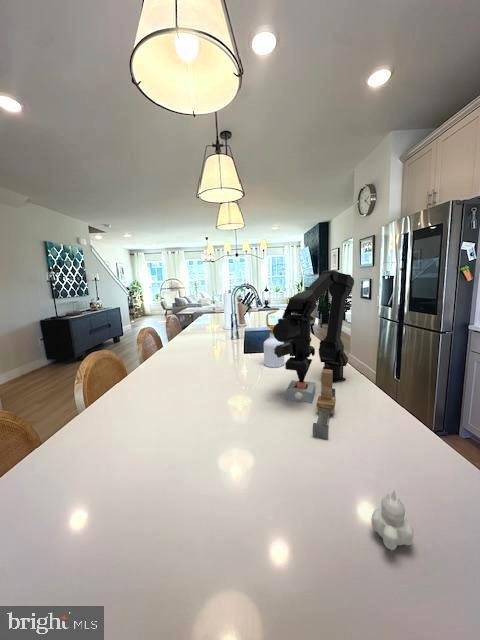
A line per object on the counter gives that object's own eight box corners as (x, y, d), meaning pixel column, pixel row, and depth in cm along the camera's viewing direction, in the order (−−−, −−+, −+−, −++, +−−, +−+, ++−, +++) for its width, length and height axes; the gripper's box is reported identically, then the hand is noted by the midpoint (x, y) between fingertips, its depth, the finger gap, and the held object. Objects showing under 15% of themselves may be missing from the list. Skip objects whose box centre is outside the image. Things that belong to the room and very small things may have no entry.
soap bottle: (283, 368, 115) (283, 311, 111) (262, 367, 117) (261, 312, 113) (284, 361, 124) (283, 309, 120) (265, 361, 126) (263, 309, 122)
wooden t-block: (318, 402, 81) (319, 368, 79) (335, 405, 79) (336, 370, 77) (316, 411, 76) (316, 375, 74) (334, 413, 74) (334, 377, 72)
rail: (323, 396, 87) (323, 387, 87) (335, 398, 86) (335, 388, 85) (312, 436, 66) (312, 425, 66) (327, 439, 65) (328, 427, 64)
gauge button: (297, 390, 90) (297, 379, 89) (306, 391, 89) (306, 380, 88) (296, 393, 88) (296, 383, 87) (304, 394, 86) (304, 384, 86)
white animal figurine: (412, 531, 41) (416, 485, 40) (411, 570, 36) (415, 519, 35) (374, 515, 44) (376, 472, 43) (367, 549, 39) (369, 501, 38)
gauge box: (292, 389, 94) (291, 380, 93) (315, 392, 90) (315, 382, 90) (286, 399, 86) (286, 389, 86) (311, 403, 83) (311, 392, 82)
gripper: (283, 329, 97) (284, 370, 99) (268, 341, 80) (269, 390, 82) (315, 330, 92) (315, 373, 95) (305, 343, 75) (305, 395, 78)
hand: (301, 382), depth 88 cm, fingers closed, pressing on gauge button
